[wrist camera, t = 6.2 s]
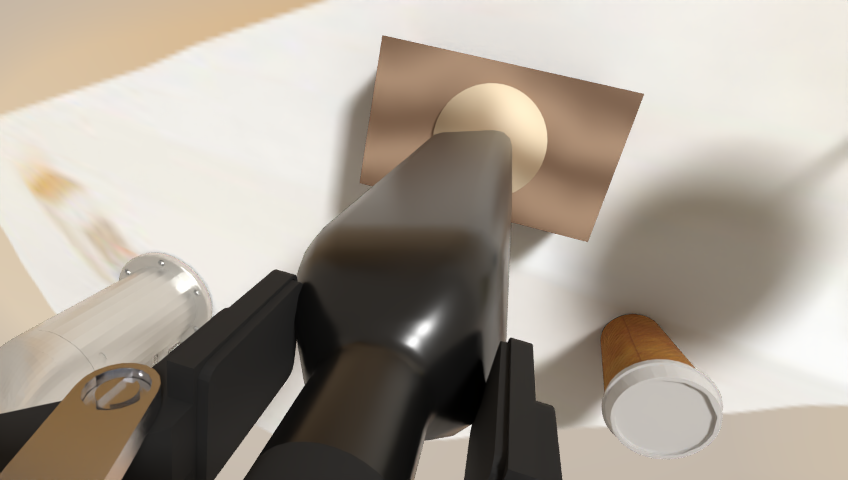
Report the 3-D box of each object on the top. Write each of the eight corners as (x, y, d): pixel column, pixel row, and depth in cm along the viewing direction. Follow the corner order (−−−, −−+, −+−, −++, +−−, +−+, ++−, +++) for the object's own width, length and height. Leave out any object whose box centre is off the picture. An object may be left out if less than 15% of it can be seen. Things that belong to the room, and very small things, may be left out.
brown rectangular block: (576, 213, 45) (588, 243, 37) (384, 164, 47) (358, 184, 39) (620, 88, 40) (645, 94, 33) (405, 40, 42) (380, 35, 34)
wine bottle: (431, 212, 33) (-25, 999, 5) (426, 132, 31) (-360, 715, 3) (512, 211, 31) (475, 1220, 4) (512, 128, 29) (441, 994, 2)
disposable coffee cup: (670, 381, 50) (714, 471, 39) (579, 370, 51) (597, 454, 40) (688, 304, 46) (742, 379, 35) (590, 296, 48) (613, 365, 37)
